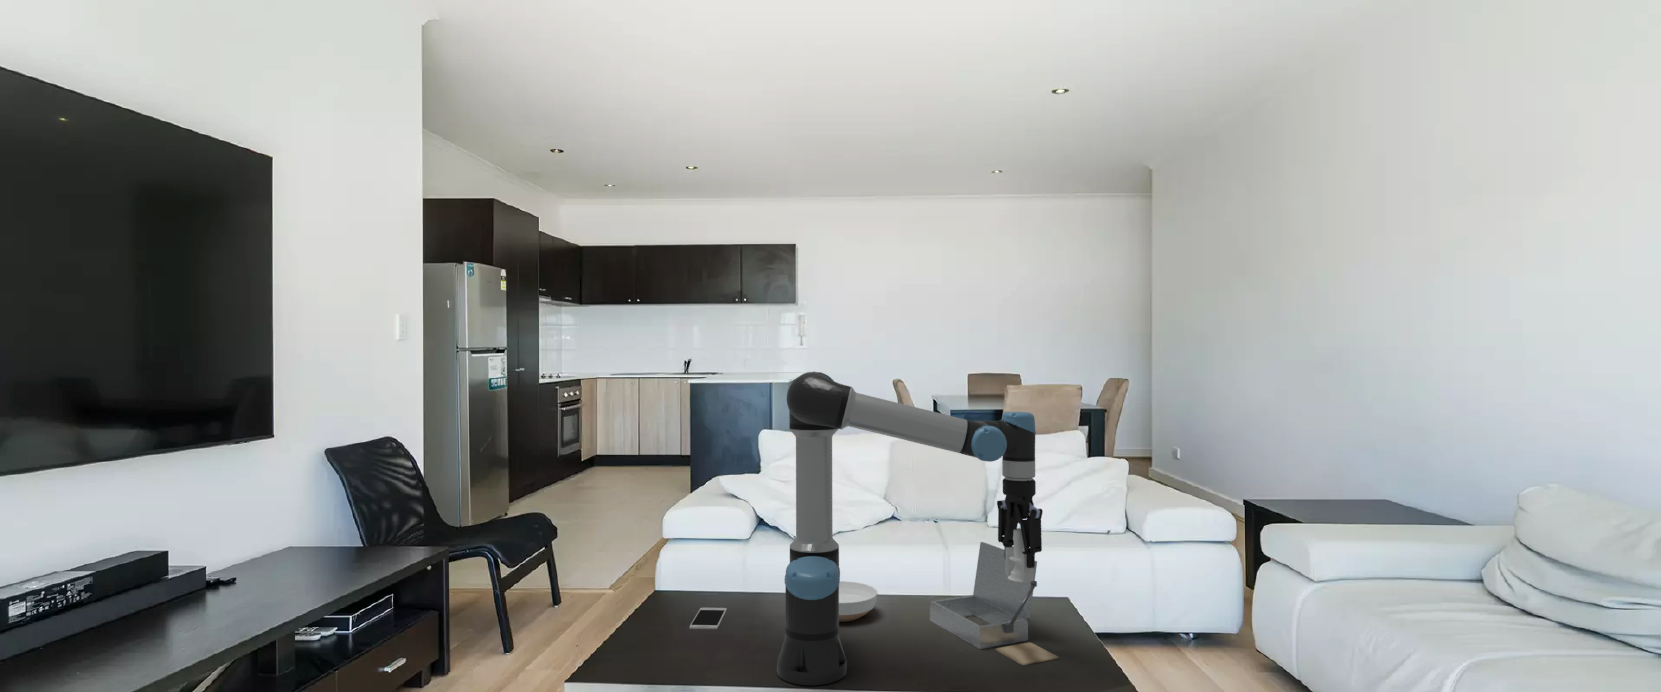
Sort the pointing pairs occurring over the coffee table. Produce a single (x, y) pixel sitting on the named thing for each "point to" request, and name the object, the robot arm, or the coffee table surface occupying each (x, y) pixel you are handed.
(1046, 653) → the mat
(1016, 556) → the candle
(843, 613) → the bowl
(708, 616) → the smartphone
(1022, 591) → the case
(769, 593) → the coffee table surface
